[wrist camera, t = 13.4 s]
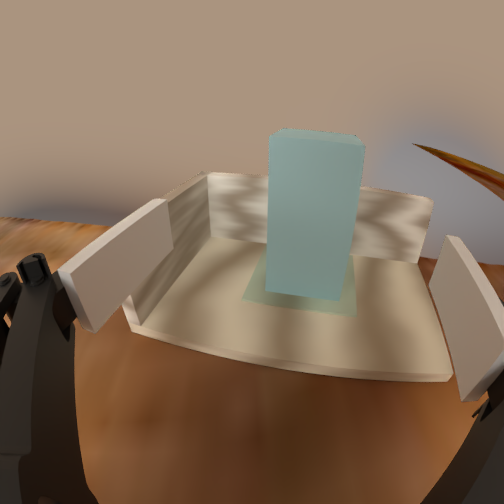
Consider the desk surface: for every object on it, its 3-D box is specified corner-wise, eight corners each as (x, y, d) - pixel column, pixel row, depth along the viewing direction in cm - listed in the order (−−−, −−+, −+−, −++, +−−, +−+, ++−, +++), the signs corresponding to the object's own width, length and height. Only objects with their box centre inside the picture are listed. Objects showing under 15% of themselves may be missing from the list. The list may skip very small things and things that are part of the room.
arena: (411, 264, 28) (429, 197, 24) (447, 381, 15) (502, 294, 11) (206, 237, 33) (202, 171, 29) (131, 331, 20) (102, 240, 16)
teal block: (339, 261, 26) (355, 135, 20) (339, 301, 21) (365, 146, 15) (278, 253, 28) (283, 128, 22) (265, 290, 23) (269, 136, 17)
